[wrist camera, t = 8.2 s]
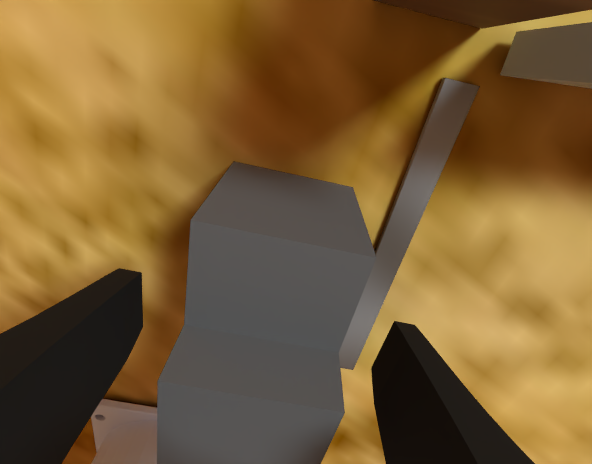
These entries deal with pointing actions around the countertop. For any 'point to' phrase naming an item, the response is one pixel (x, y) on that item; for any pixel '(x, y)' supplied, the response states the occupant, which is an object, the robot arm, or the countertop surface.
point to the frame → (433, 150)
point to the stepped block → (264, 321)
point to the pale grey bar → (552, 55)
